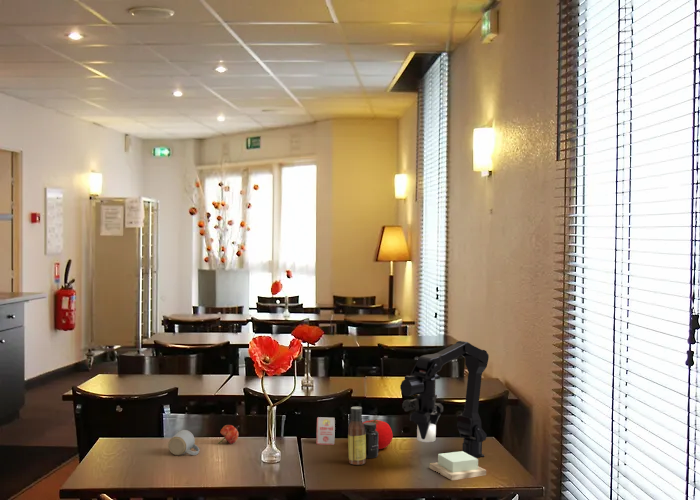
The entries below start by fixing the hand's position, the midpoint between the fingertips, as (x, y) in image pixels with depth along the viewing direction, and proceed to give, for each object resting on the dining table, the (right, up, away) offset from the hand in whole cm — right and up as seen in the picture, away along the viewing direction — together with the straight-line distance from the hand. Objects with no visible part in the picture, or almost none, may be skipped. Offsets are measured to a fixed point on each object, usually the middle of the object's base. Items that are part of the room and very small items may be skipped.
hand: (426, 436), depth 279 cm
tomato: (-18, -10, +23) cm, 31 cm away
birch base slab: (+10, -12, -4) cm, 16 cm away
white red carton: (-36, -9, +28) cm, 47 cm away
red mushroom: (-74, -9, +25) cm, 78 cm away
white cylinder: (0, -1, 0) cm, 1 cm away
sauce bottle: (-24, -10, +3) cm, 27 cm away
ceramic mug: (-87, -9, +11) cm, 89 cm away
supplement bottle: (-20, -10, +12) cm, 25 cm away
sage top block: (+10, -9, -4) cm, 15 cm away
